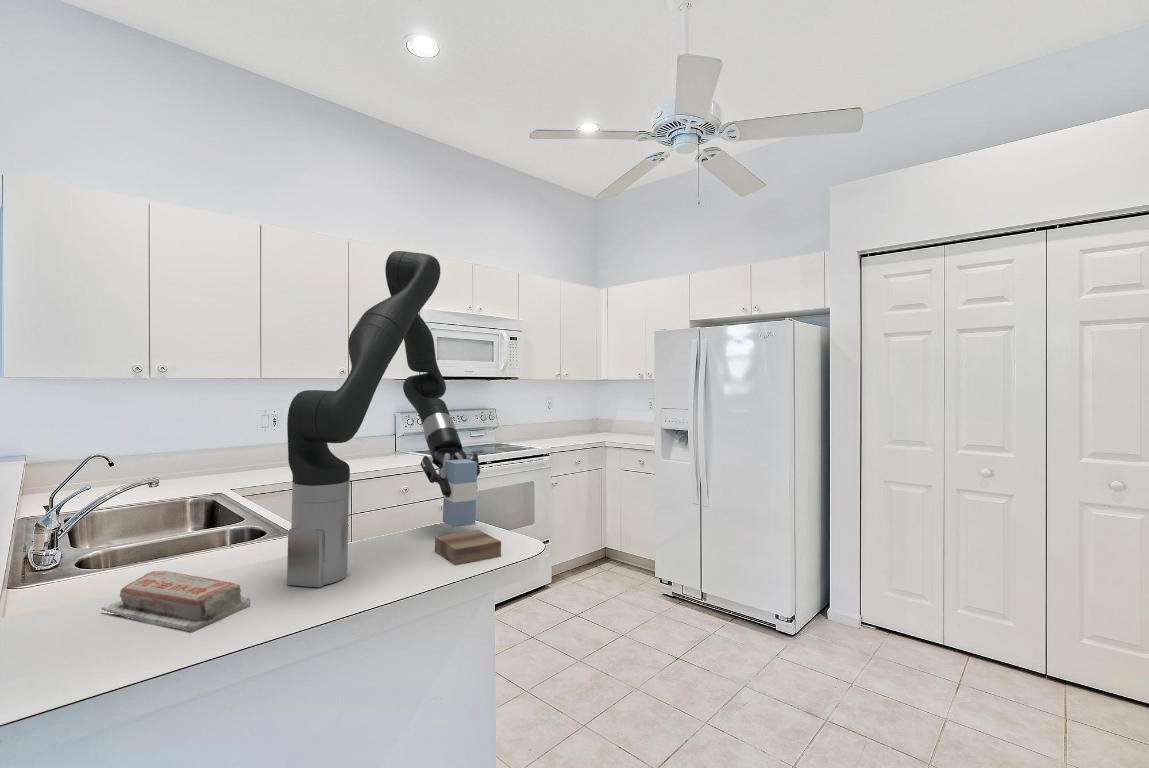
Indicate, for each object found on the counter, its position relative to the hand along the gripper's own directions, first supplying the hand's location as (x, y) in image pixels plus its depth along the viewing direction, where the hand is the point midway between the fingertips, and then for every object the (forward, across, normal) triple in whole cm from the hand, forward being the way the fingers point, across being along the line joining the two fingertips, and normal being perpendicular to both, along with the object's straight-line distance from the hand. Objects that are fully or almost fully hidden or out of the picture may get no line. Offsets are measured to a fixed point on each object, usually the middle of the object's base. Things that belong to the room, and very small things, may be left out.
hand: (461, 493), depth 122 cm
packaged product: (+16, -51, 0) cm, 54 cm away
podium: (+15, -3, 0) cm, 15 cm away
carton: (+4, 0, +5) cm, 7 cm away
